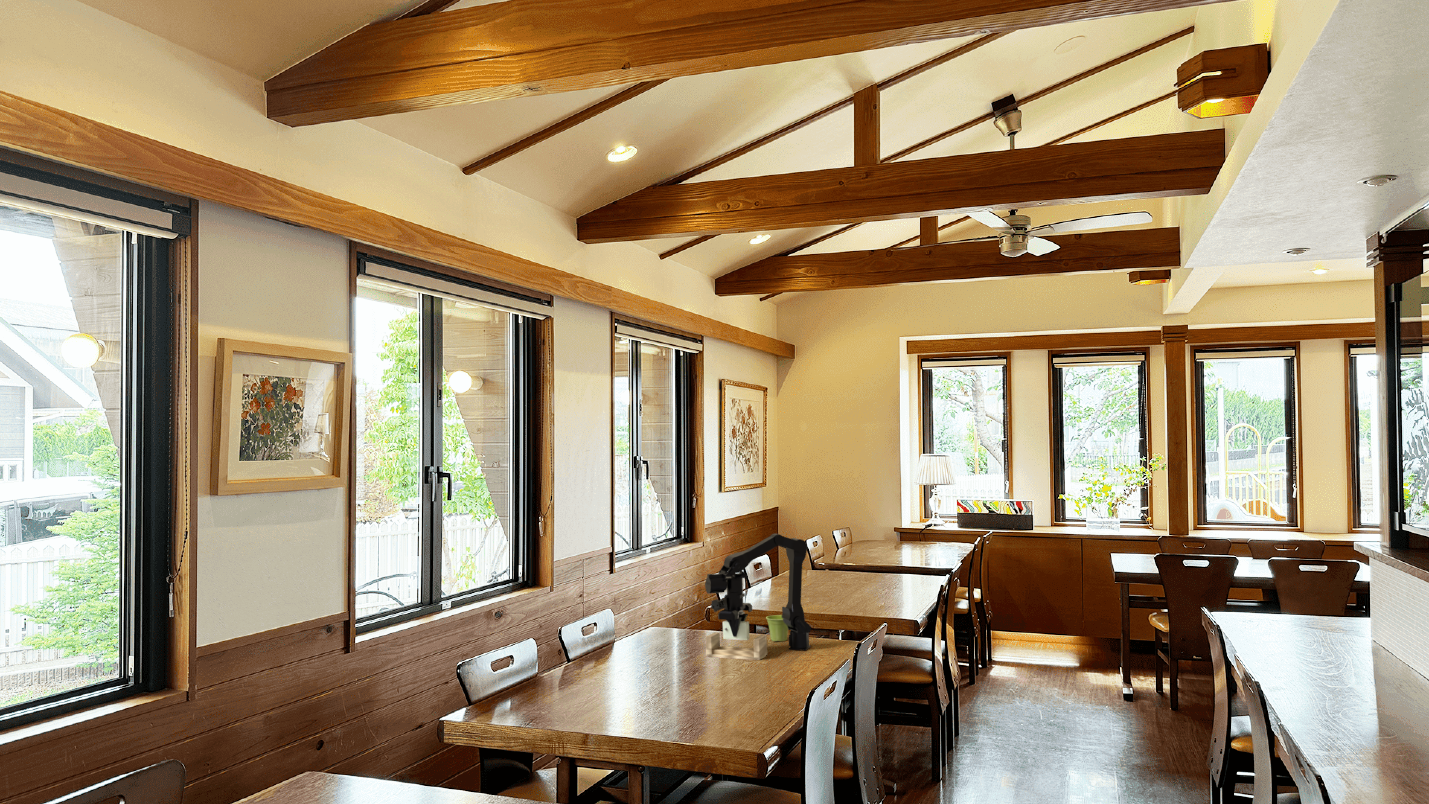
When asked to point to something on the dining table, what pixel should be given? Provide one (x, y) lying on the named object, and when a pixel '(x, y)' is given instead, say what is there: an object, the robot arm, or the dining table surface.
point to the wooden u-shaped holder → (736, 648)
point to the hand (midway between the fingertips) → (736, 635)
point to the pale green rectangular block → (742, 631)
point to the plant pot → (777, 628)
